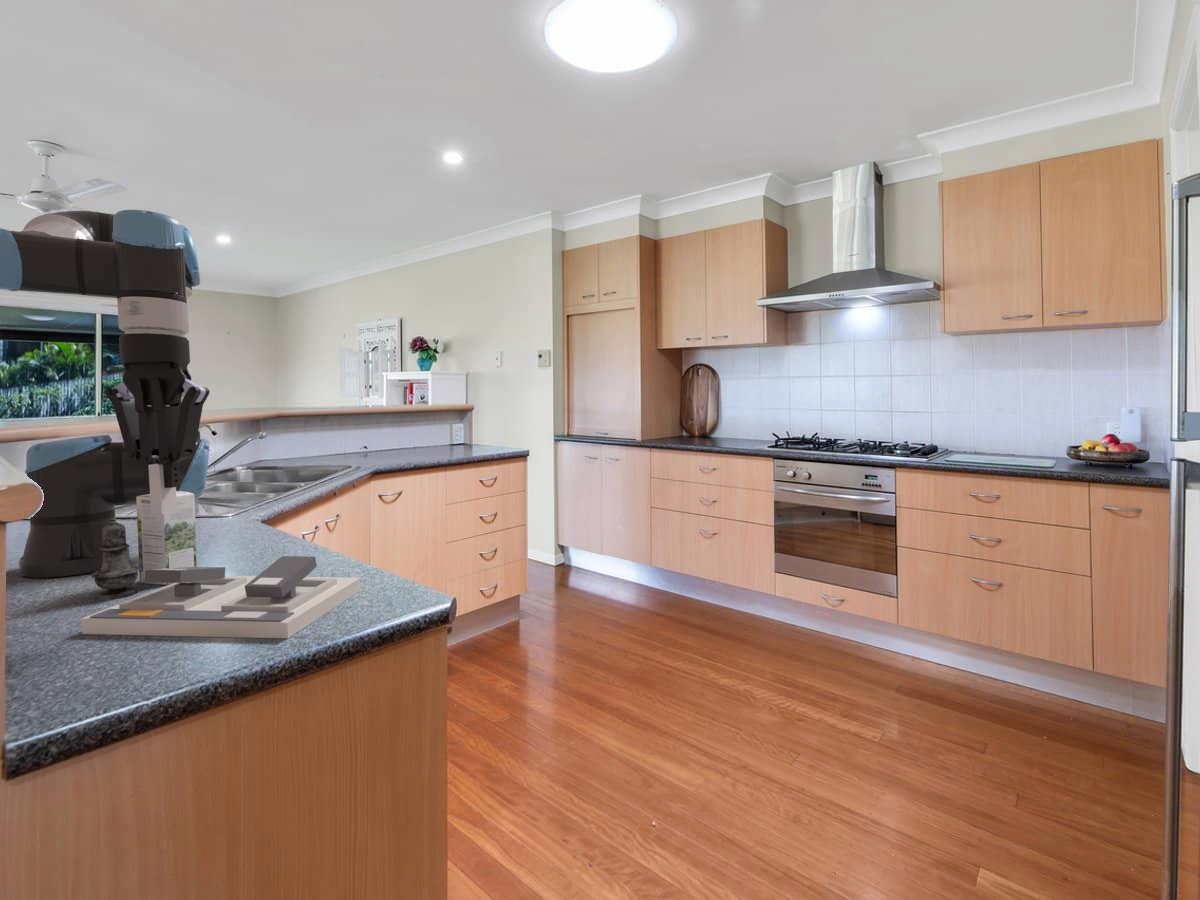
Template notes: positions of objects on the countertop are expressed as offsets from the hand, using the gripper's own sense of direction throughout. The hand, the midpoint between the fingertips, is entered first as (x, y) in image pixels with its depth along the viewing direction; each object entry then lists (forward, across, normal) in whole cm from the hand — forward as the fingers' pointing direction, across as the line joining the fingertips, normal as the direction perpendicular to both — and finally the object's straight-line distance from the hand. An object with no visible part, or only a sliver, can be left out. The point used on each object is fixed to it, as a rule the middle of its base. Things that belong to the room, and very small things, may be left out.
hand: (164, 512), depth 83 cm
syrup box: (+15, -14, +18) cm, 27 cm away
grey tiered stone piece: (+15, -16, +10) cm, 24 cm away
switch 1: (+10, 0, +4) cm, 10 cm away
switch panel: (+15, +7, +4) cm, 17 cm away
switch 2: (+10, +14, +4) cm, 17 cm away
